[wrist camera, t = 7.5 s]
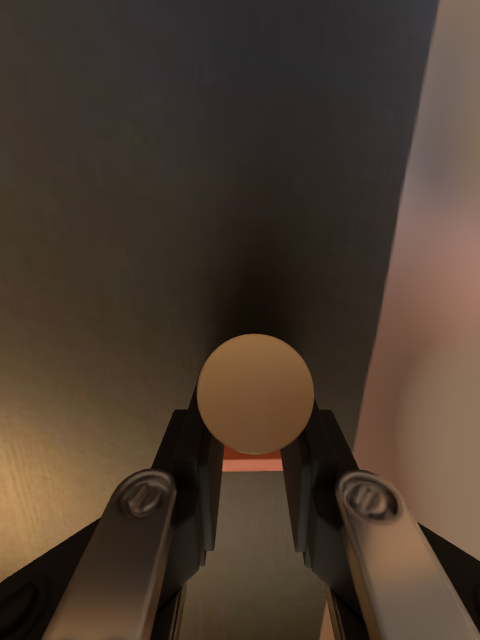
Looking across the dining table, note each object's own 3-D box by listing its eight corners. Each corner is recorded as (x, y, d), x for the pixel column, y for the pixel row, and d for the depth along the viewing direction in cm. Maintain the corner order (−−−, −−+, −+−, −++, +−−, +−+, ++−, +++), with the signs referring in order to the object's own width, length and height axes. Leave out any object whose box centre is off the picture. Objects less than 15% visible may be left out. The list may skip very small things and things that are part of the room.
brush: (131, 309, 5) (118, 491, 5) (374, 302, 5) (400, 488, 4) (218, 368, 20) (218, 412, 19) (281, 366, 20) (283, 411, 19)
